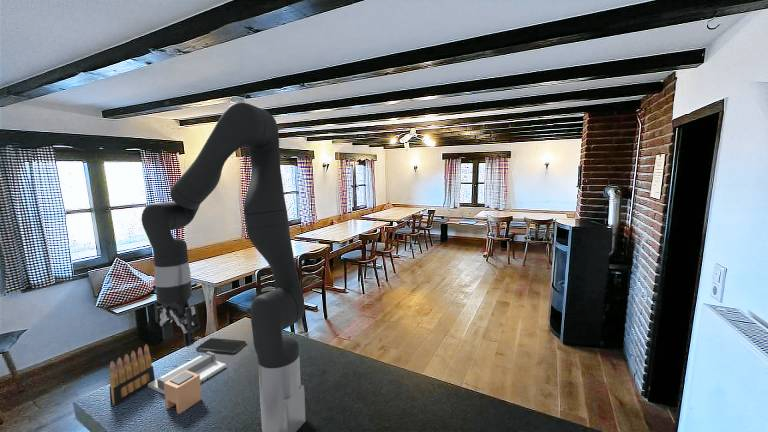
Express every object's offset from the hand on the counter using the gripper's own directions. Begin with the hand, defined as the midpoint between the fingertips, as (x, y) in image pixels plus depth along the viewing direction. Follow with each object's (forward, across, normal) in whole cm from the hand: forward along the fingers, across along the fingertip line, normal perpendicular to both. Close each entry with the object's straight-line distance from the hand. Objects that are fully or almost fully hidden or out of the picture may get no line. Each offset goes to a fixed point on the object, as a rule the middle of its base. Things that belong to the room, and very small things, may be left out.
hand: (178, 341), depth 82 cm
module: (+17, 0, 0) cm, 17 cm away
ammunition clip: (+18, +17, +3) cm, 25 cm away
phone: (+18, +16, -24) cm, 34 cm away
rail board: (+17, +10, -8) cm, 21 cm away
